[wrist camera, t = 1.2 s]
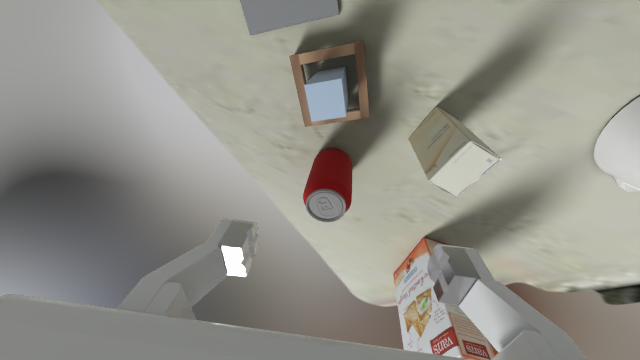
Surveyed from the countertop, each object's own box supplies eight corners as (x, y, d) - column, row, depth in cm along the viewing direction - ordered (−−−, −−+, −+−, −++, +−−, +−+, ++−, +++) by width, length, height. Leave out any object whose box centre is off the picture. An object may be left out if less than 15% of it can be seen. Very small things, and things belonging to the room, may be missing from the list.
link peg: (345, 66, 32) (341, 78, 23) (348, 96, 34) (346, 116, 25) (317, 71, 32) (303, 85, 24) (322, 100, 35) (311, 121, 26)
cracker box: (421, 235, 46) (461, 356, 29) (448, 243, 47) (504, 369, 29) (390, 274, 54) (407, 388, 37) (414, 281, 54) (442, 398, 37)
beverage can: (323, 184, 43) (313, 230, 33) (307, 153, 40) (291, 194, 30) (357, 174, 41) (358, 220, 31) (344, 140, 38) (340, 179, 28)
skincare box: (436, 105, 33) (471, 136, 23) (459, 120, 34) (505, 158, 23) (406, 140, 36) (426, 181, 26) (429, 153, 37) (456, 199, 27)
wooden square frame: (363, 40, 30) (363, 40, 27) (368, 111, 34) (369, 117, 32) (294, 54, 32) (289, 56, 29) (308, 120, 36) (305, 126, 34)
